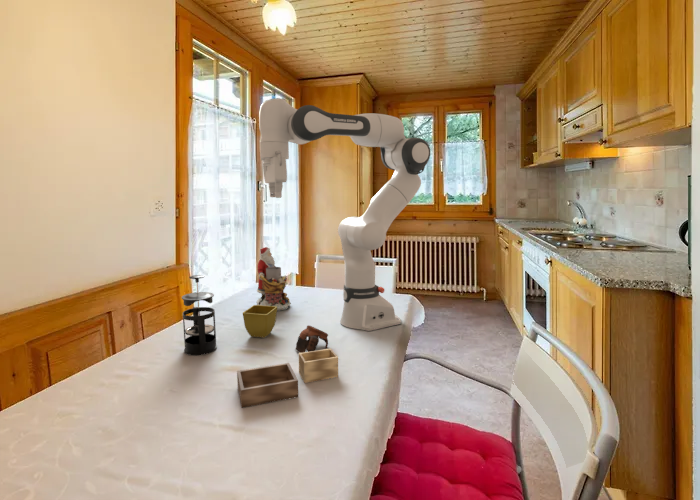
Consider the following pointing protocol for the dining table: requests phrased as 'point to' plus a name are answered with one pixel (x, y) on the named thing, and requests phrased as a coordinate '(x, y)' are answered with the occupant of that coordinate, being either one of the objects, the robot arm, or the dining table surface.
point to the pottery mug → (310, 339)
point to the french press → (199, 323)
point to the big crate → (266, 384)
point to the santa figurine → (271, 282)
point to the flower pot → (260, 320)
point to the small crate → (318, 365)
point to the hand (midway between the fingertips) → (275, 197)
